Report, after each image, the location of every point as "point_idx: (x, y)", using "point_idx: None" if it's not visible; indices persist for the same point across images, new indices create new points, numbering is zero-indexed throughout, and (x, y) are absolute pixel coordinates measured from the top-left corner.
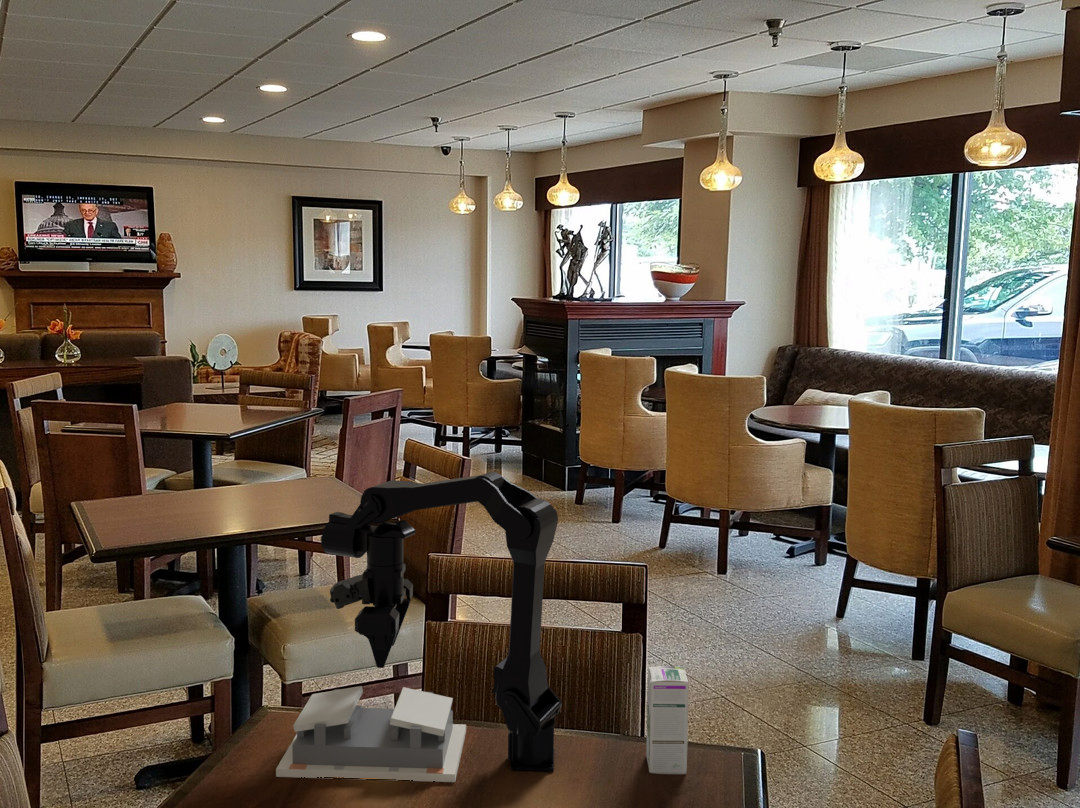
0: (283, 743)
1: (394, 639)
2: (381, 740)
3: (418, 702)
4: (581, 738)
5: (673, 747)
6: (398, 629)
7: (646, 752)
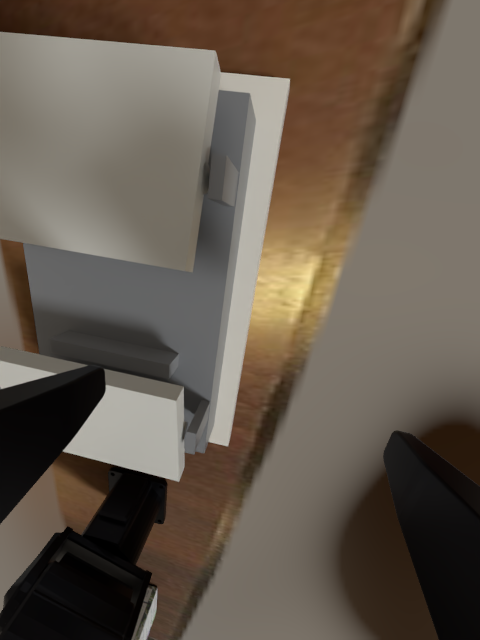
0: (197, 41)
1: (396, 496)
2: (61, 311)
3: (110, 421)
4: (201, 552)
5: None
6: (427, 600)
7: (149, 593)
